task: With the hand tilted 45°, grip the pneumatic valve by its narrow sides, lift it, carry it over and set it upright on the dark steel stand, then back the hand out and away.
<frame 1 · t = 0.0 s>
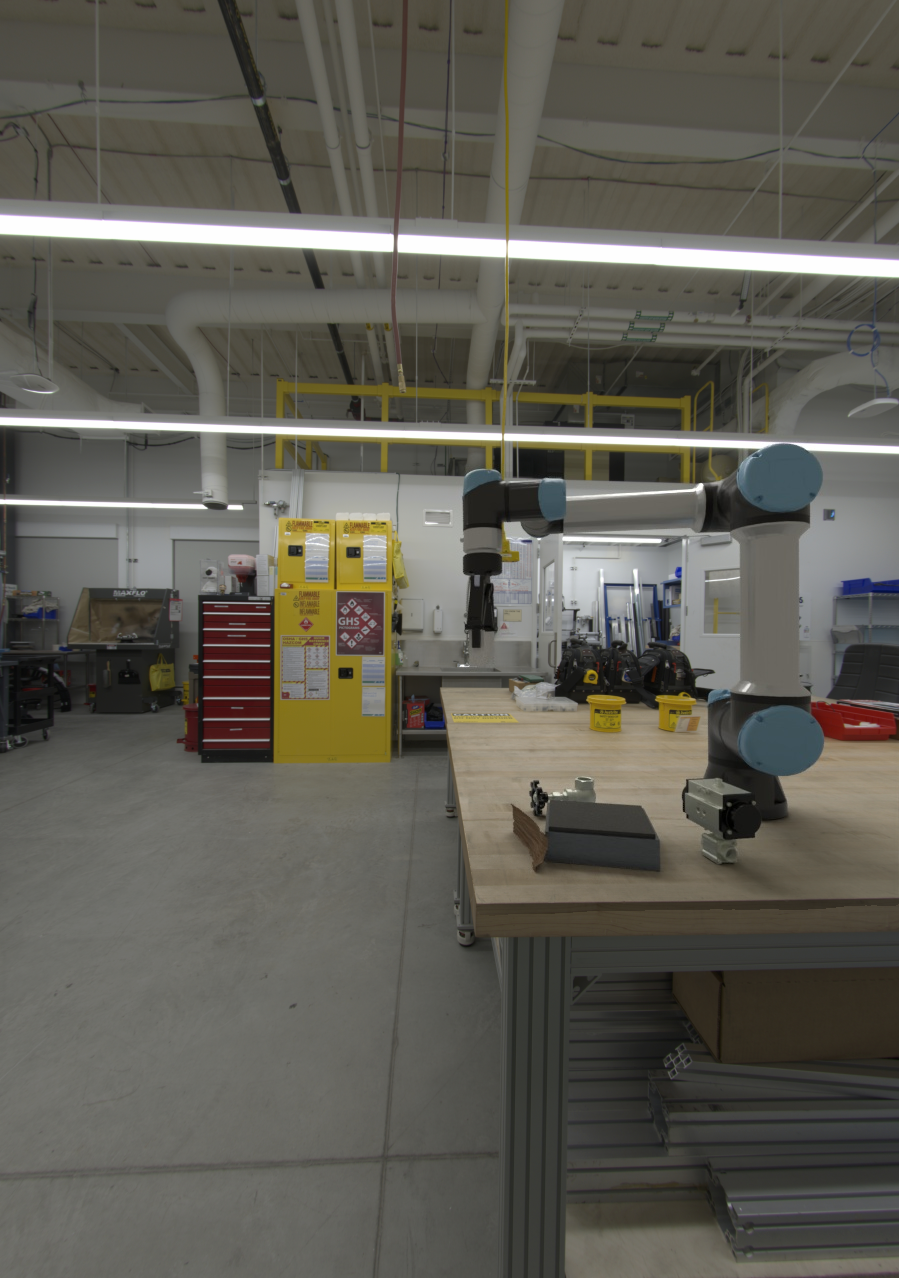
hand: (482, 665, 97), 28 cm above the workbench, tool pointing down, fingers open, 13 cm apart
wood plank: (525, 851, 80), on the workbench
pneumatic valve: (716, 860, 76), on the workbench
valve: (564, 815, 96), on the workbench
stand: (597, 847, 81), on the workbench
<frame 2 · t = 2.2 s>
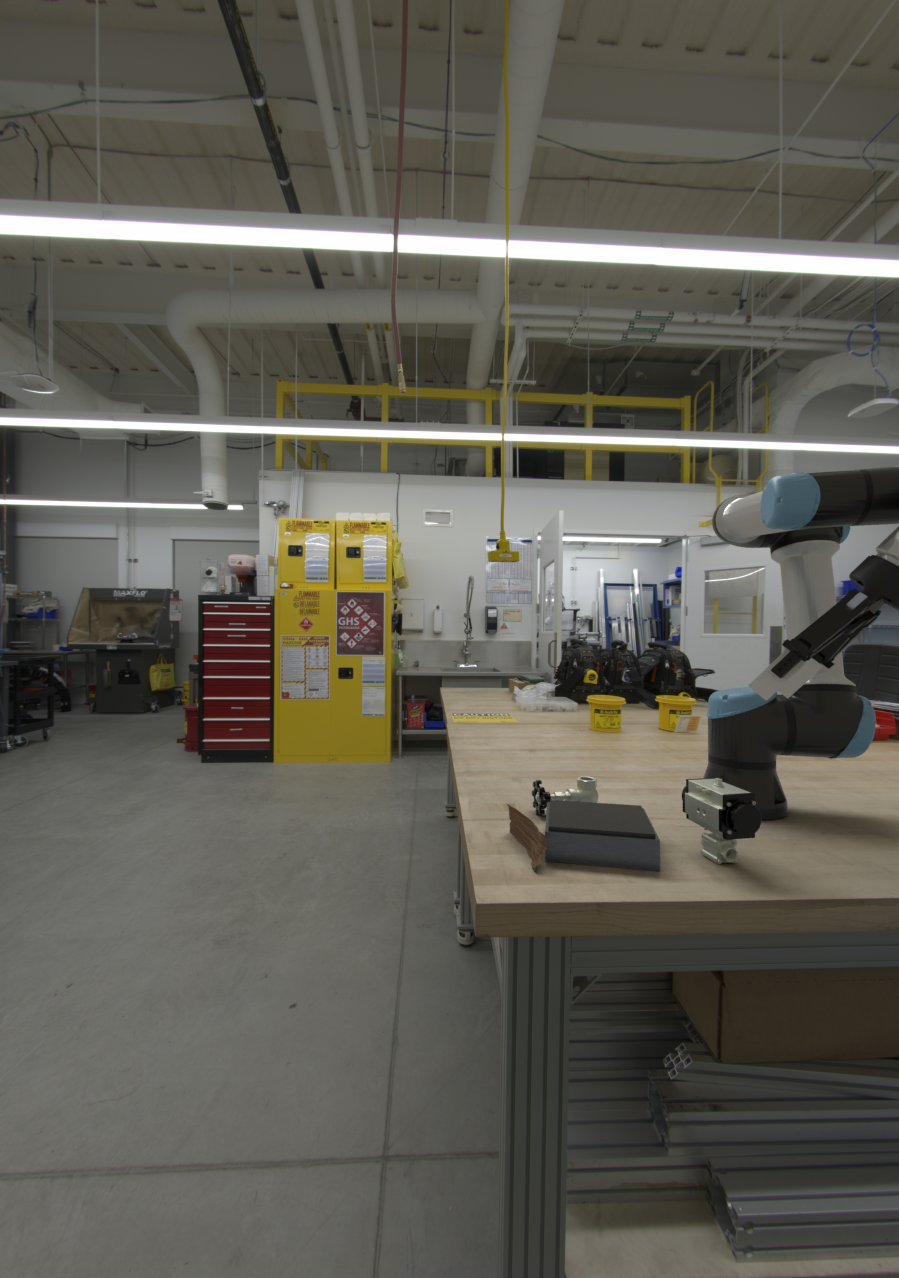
hand: (769, 692, 72), 25 cm above the workbench, tool tilted 40°, fingers open, 13 cm apart
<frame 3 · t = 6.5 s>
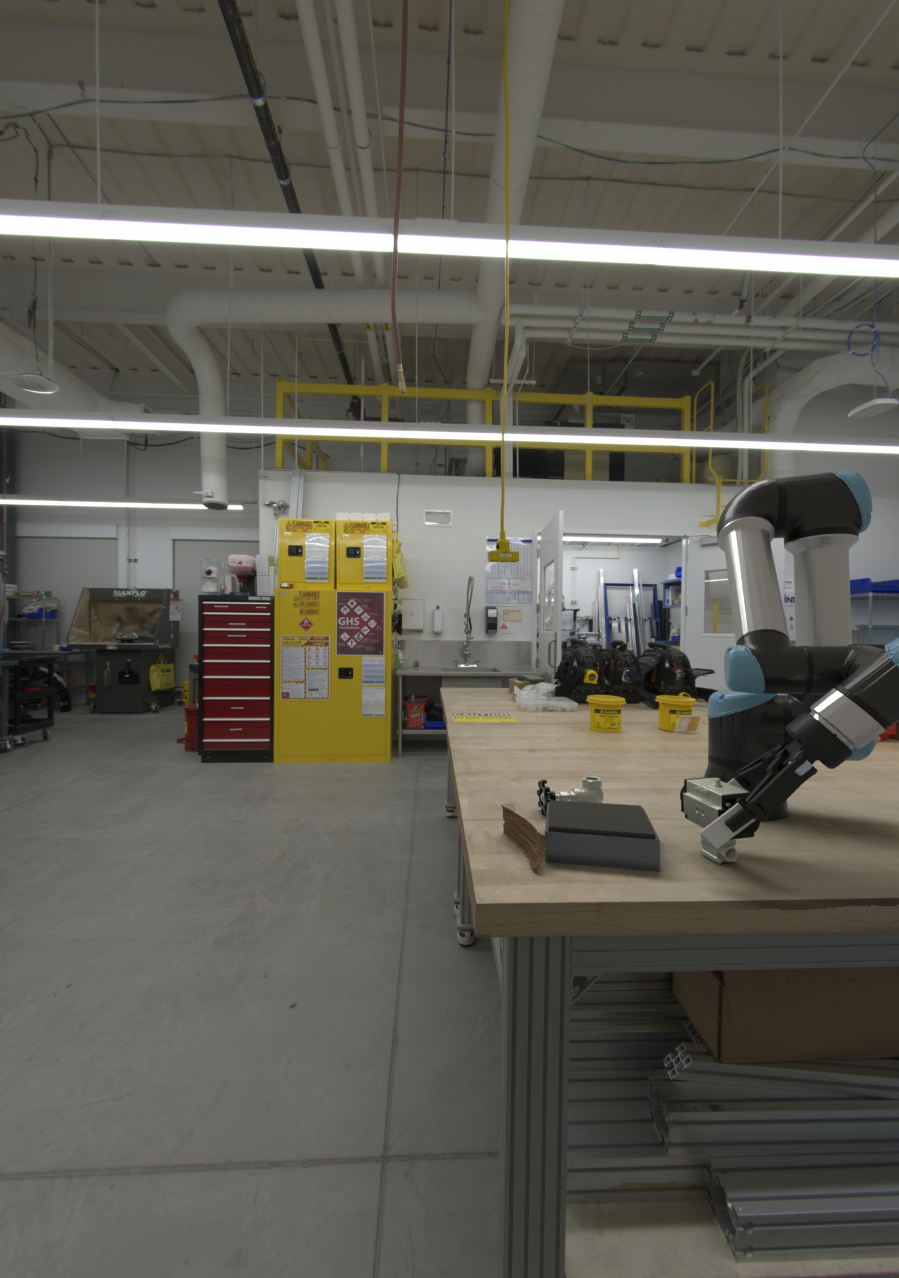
hand: (708, 824, 76), 5 cm above the workbench, tool tilted 45°, fingers open, 13 cm apart
pneumatic valve: (716, 860, 76), on the workbench, touching gripper
valve: (572, 814, 97), on the workbench
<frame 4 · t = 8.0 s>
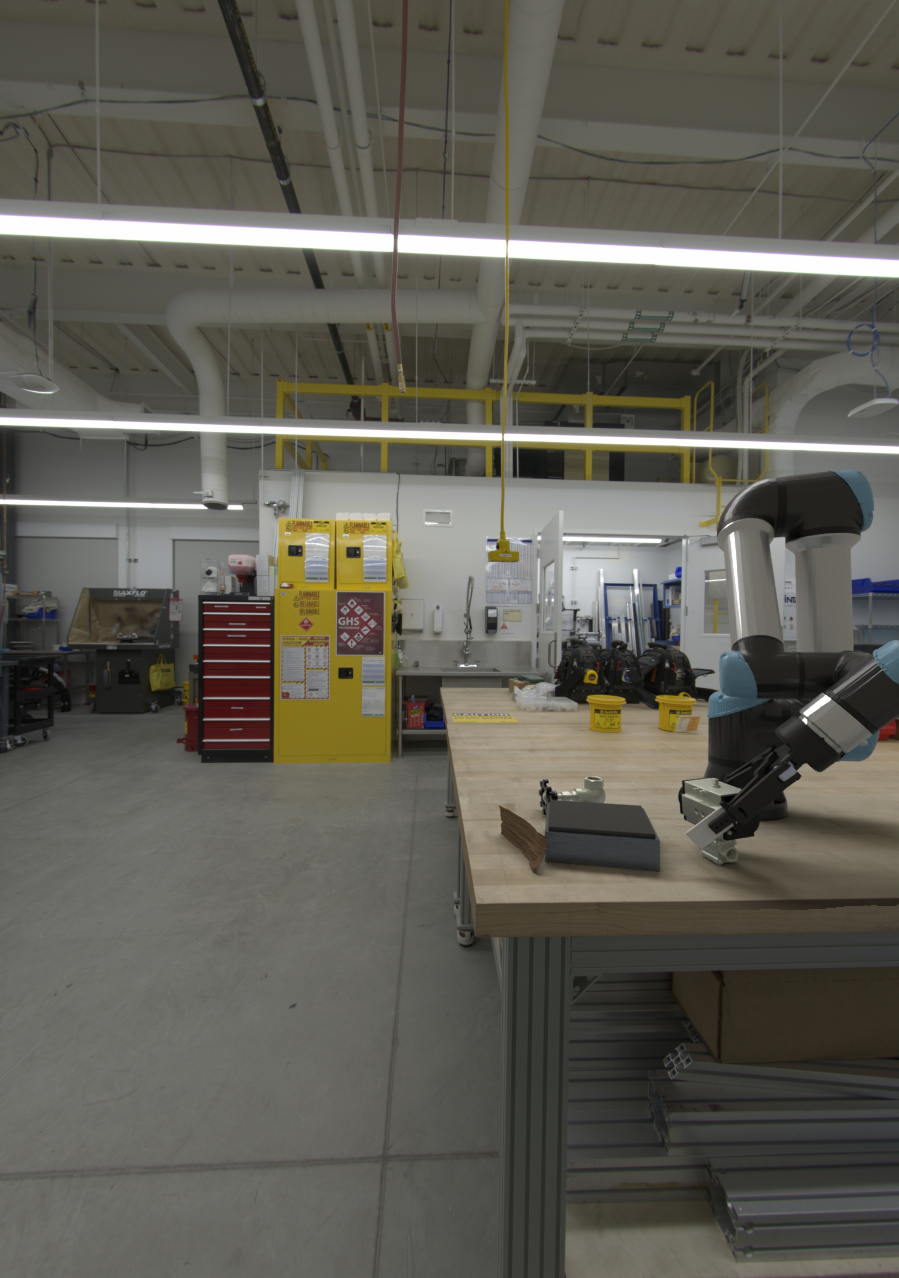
hand: (694, 828, 78), 4 cm above the workbench, tool tilted 45°, fingers closed on pneumatic valve, 10 cm apart
pneumatic valve: (716, 860, 76), on the workbench, touching gripper
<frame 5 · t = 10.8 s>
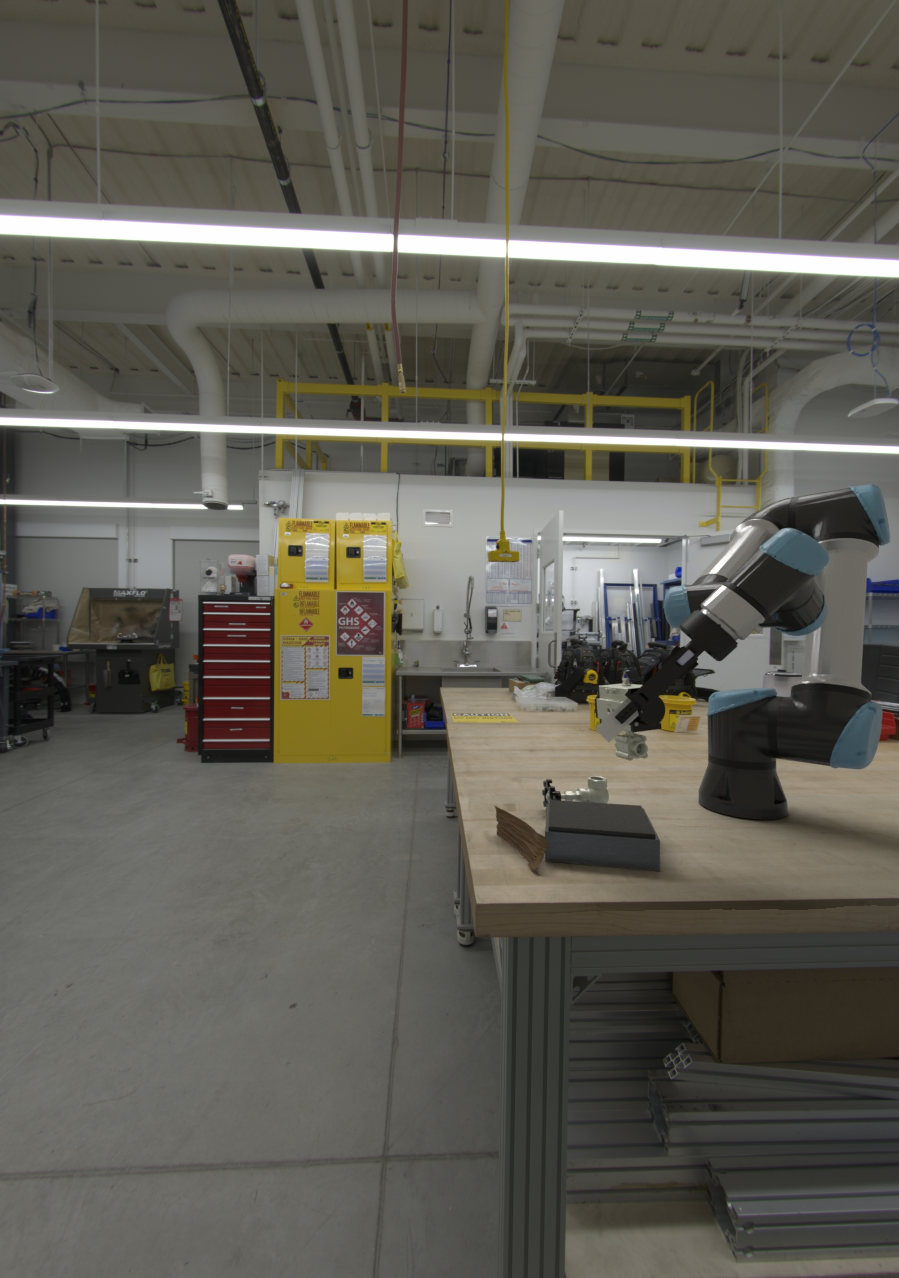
hand: (607, 729, 79), 19 cm above the workbench, tool tilted 45°, fingers closed on pneumatic valve, 10 cm apart
pneumatic valve: (629, 759, 77), point 15 cm above the workbench, touching gripper
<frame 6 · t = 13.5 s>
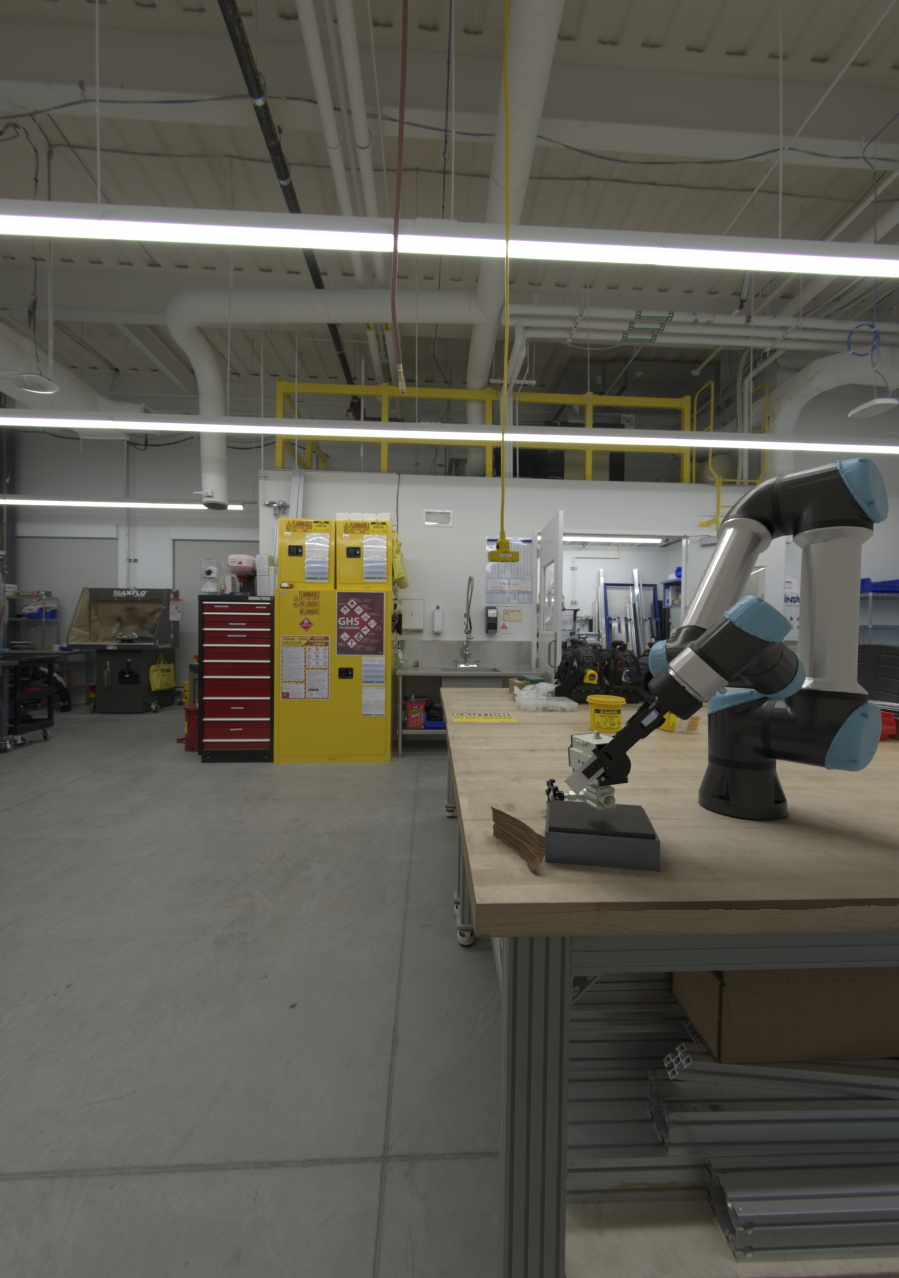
hand: (579, 778, 82), 10 cm above the workbench, tool tilted 45°, fingers closed on pneumatic valve, 10 cm apart
pneumatic valve: (598, 808, 80), point 6 cm above the workbench, touching gripper
when the fingers open (10 cm above the workbench, at t = 13.7 s): pneumatic valve drops 1 cm, resting on stand.
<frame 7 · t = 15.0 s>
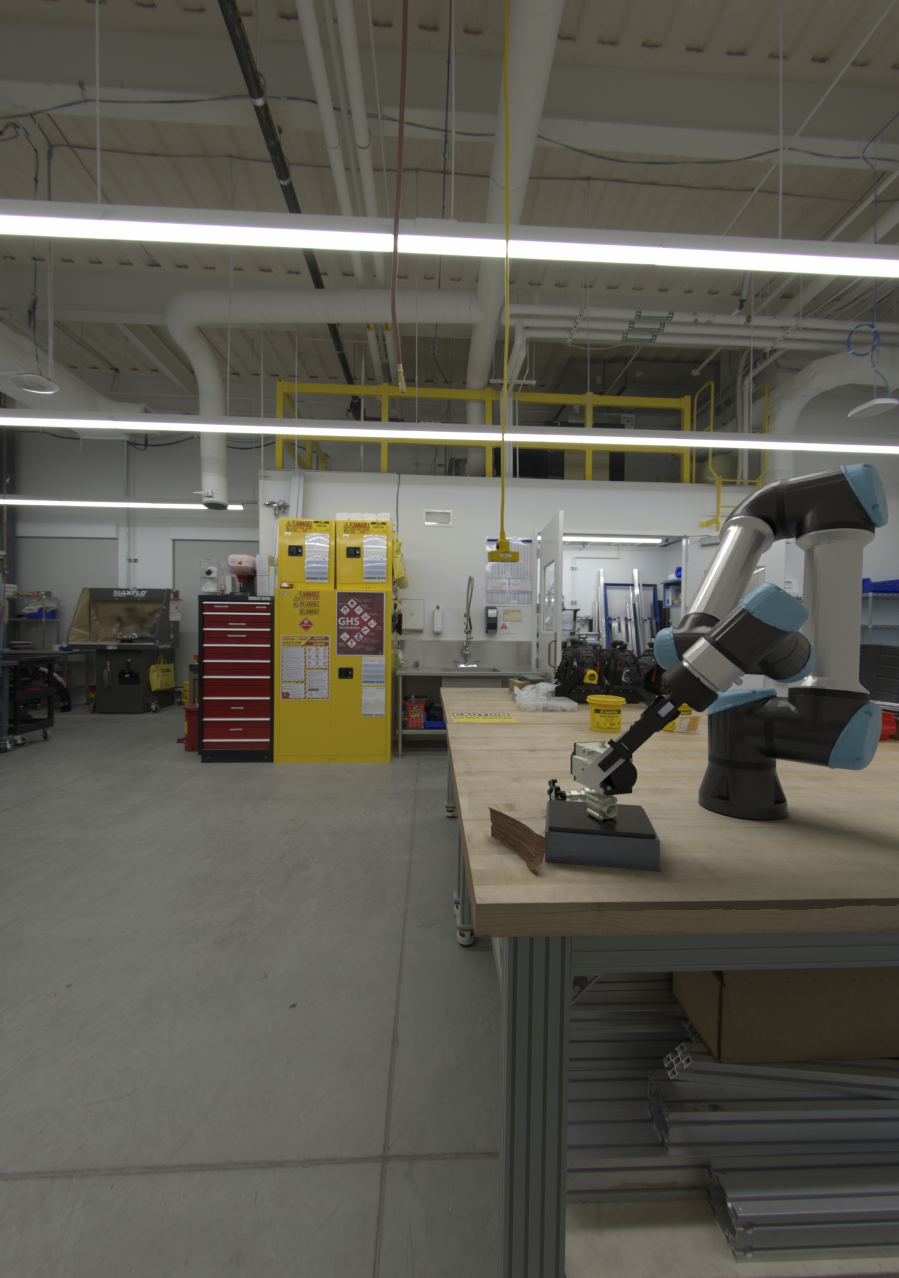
hand: (596, 770, 80), 12 cm above the workbench, tool tilted 45°, fingers open, 13 cm apart
pneumatic valve: (599, 818, 80), point 5 cm above the workbench, touching stand
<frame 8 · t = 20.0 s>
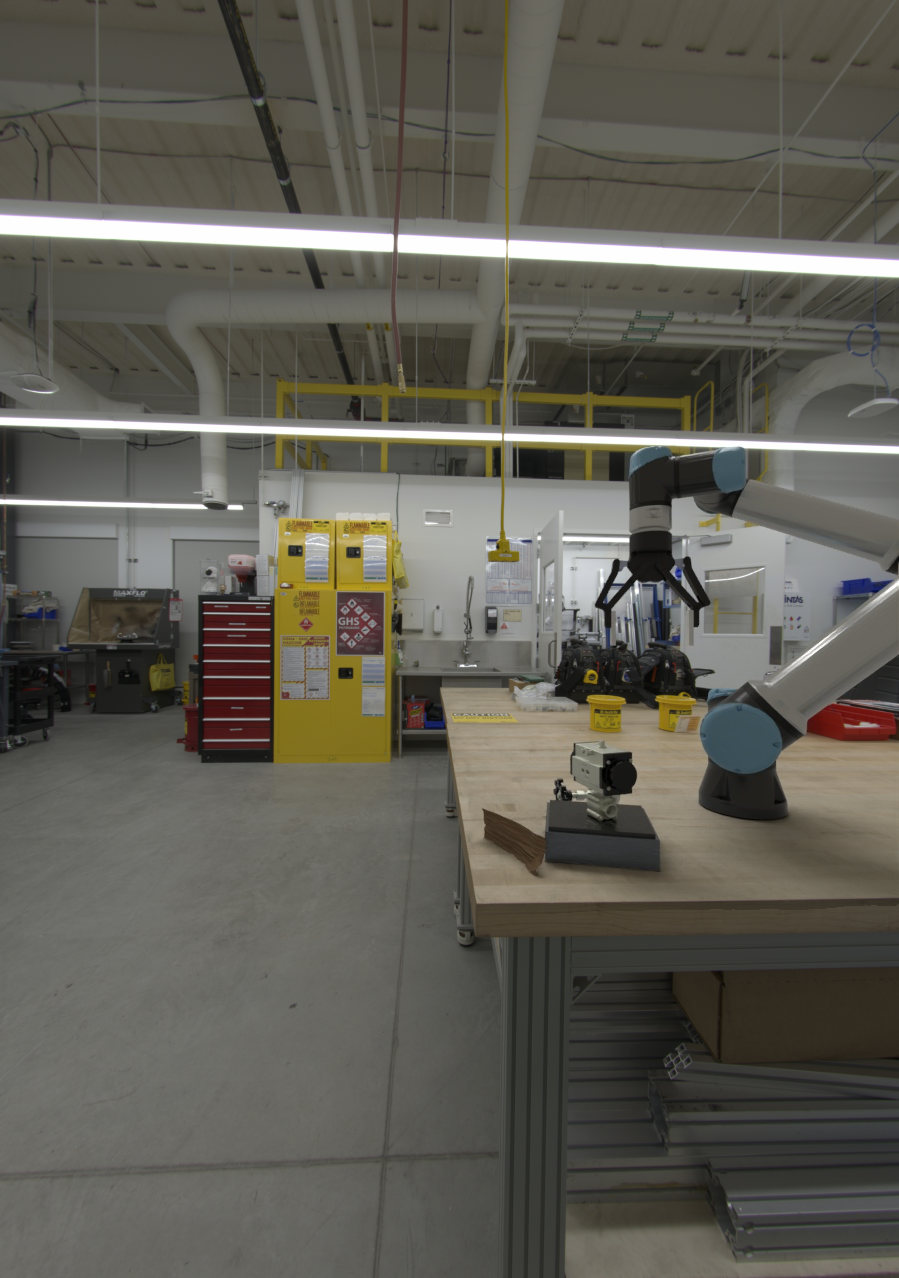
hand: (650, 645, 96), 32 cm above the workbench, tool pointing down, fingers open, 13 cm apart
valve: (588, 813, 97), on the workbench
at the end: pneumatic valve inside the target area on the stand (0.7 cm from its centre), point 4.8 cm above the stand's base; pneumatic valve tilted 0°; the gripper is holding nothing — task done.
